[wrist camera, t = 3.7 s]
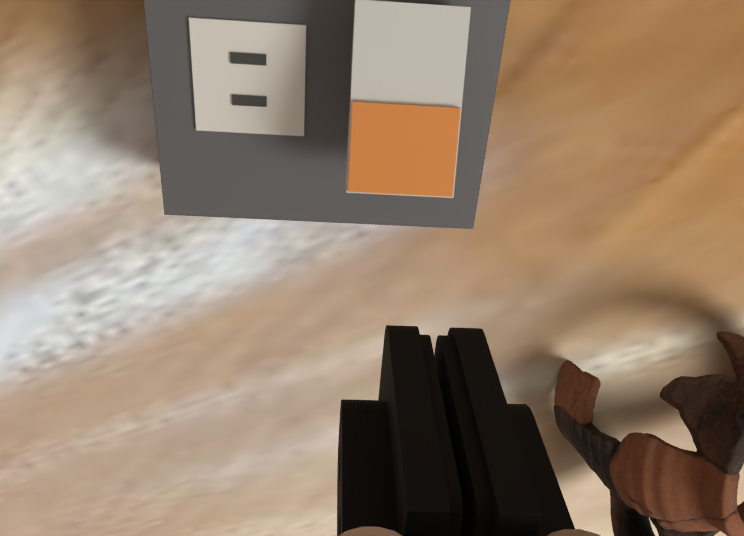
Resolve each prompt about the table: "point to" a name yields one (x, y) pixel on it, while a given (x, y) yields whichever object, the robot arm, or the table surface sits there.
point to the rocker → (406, 98)
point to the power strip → (292, 111)
